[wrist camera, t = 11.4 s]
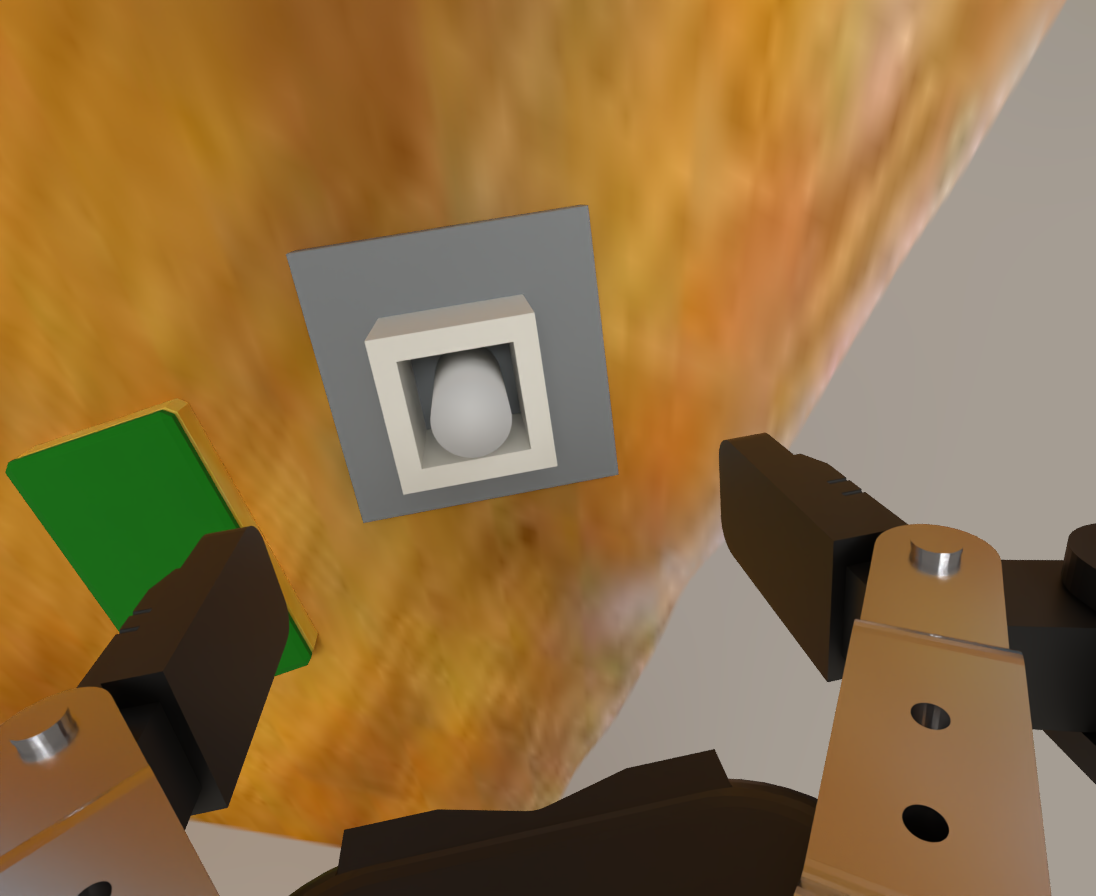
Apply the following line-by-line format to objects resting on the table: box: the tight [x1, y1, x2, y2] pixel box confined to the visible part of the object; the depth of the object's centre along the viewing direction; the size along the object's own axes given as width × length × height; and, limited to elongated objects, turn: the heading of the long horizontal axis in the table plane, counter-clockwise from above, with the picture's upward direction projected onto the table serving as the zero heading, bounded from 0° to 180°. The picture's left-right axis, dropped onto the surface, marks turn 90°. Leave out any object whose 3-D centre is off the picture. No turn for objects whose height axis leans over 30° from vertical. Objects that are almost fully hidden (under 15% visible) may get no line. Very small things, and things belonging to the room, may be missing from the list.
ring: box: [364, 294, 558, 495], centre depth 26 cm, size 6×6×4 cm
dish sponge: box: [5, 398, 318, 676], centre depth 30 cm, size 7×14×2 cm, turn 17°
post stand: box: [286, 205, 619, 523], centre depth 26 cm, size 12×12×8 cm
